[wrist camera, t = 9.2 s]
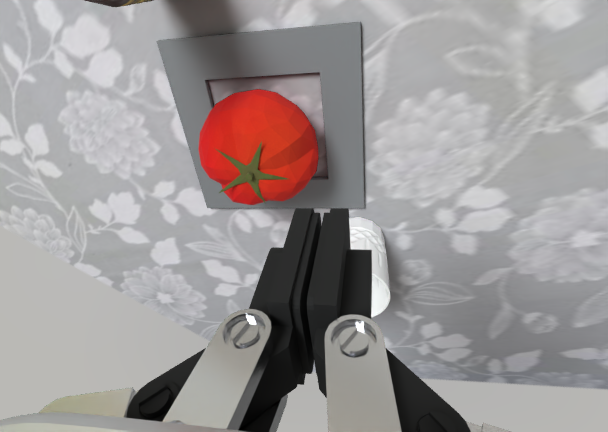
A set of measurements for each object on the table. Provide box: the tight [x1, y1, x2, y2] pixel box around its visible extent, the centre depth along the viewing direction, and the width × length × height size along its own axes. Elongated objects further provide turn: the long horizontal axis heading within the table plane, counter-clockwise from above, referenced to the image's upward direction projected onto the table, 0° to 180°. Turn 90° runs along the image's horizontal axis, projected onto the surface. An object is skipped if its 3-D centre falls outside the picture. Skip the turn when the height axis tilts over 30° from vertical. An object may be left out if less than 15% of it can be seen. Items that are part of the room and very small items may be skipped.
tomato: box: [198, 89, 318, 205], centre depth 38 cm, size 12×12×10 cm
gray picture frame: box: [157, 22, 364, 208], centre depth 42 cm, size 20×20×1 cm
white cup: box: [349, 217, 390, 318], centre depth 45 cm, size 8×8×10 cm
